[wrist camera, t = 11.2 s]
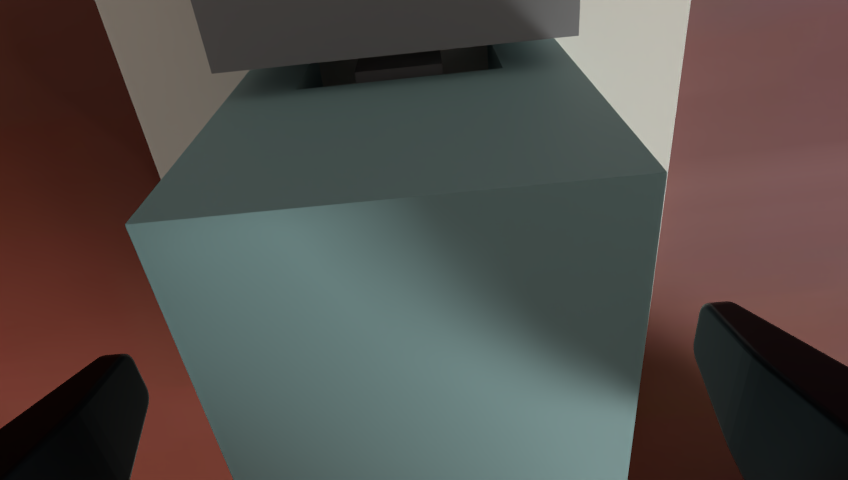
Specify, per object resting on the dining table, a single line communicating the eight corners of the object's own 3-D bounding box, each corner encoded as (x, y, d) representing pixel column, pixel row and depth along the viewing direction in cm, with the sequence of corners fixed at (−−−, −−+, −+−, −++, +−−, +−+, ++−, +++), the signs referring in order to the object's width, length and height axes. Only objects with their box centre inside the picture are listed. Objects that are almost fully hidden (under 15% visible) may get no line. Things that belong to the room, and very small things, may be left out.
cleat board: (619, 449, 21) (659, 561, 18) (284, 475, 21) (260, 589, 18) (690, -162, 12) (807, -175, 8) (85, -94, 12) (-43, -77, 9)
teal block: (542, 294, 16) (619, 544, 10) (322, 314, 16) (271, 569, 10) (544, 26, 12) (667, 172, 6) (260, 56, 13) (125, 224, 7)
